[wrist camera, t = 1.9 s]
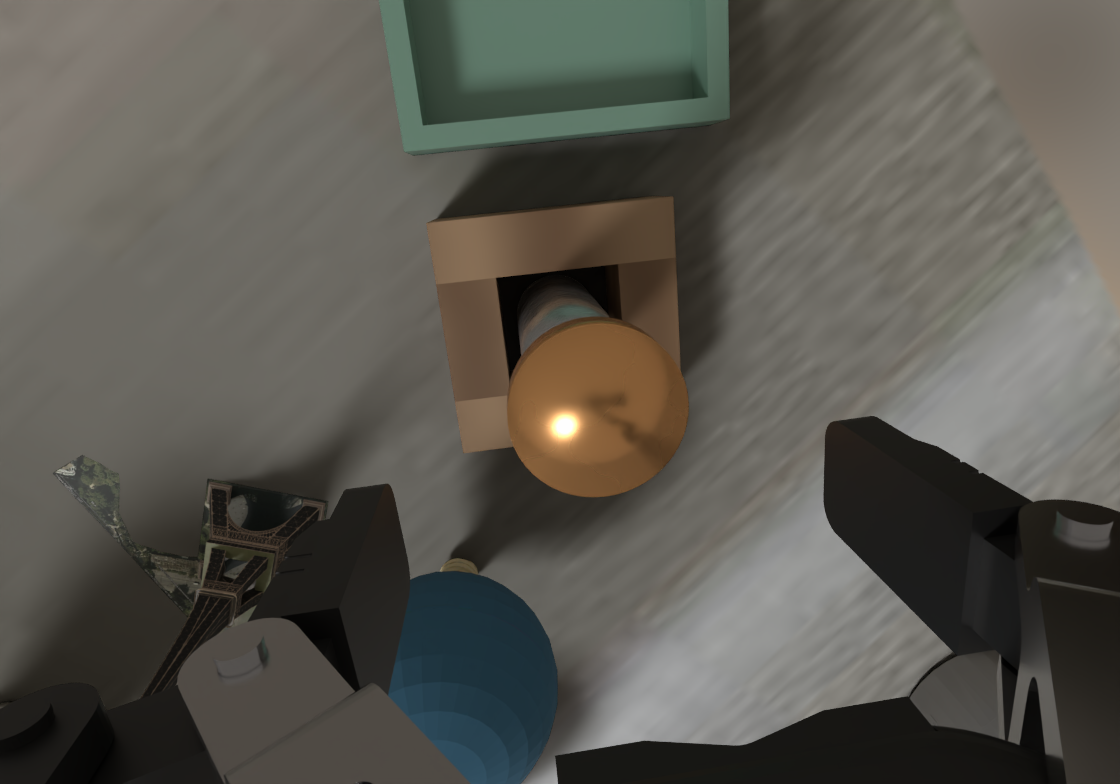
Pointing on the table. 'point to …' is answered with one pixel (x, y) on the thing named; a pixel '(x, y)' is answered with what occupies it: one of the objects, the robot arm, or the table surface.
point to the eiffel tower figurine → (204, 553)
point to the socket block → (535, 247)
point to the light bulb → (476, 674)
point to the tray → (553, 69)
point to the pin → (590, 394)
